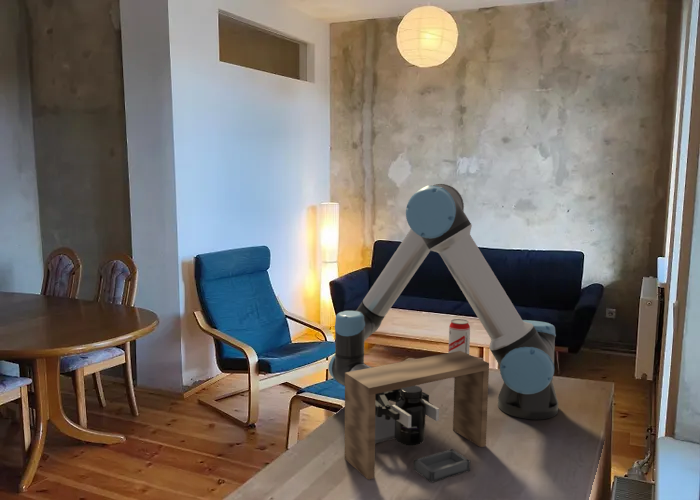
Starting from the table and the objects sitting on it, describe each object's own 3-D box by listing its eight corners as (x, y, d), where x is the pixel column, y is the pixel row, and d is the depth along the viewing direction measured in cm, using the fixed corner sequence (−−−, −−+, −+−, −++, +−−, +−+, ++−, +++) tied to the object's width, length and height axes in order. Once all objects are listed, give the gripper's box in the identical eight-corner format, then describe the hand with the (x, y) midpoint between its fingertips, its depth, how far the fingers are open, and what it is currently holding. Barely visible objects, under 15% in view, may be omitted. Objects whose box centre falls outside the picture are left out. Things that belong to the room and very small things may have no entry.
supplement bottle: (405, 449, 135) (406, 396, 134) (388, 436, 141) (389, 386, 140) (431, 442, 139) (432, 391, 137) (414, 430, 145) (415, 381, 143)
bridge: (344, 458, 135) (344, 372, 132) (457, 428, 150) (460, 350, 147) (368, 479, 127) (369, 388, 124) (485, 445, 141) (489, 363, 138)
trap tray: (413, 469, 131) (414, 459, 130) (451, 458, 136) (452, 448, 135) (430, 482, 126) (431, 472, 125) (469, 470, 130) (470, 460, 130)
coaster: (390, 414, 158) (390, 411, 158) (418, 432, 148) (418, 429, 148) (349, 423, 153) (349, 420, 153) (374, 443, 142) (375, 440, 142)
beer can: (453, 367, 193) (454, 317, 190) (472, 371, 189) (474, 320, 187) (444, 373, 188) (445, 321, 185) (463, 377, 184) (464, 325, 182)
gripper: (401, 391, 160) (459, 425, 140) (333, 405, 150) (385, 444, 130) (401, 362, 159) (460, 393, 139) (333, 376, 149) (385, 410, 129)
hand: (423, 418), depth 135 cm, fingers closed on supplement bottle, 7 cm apart
